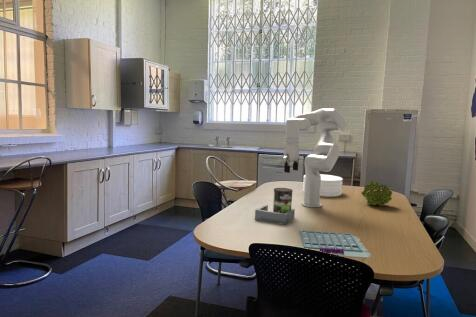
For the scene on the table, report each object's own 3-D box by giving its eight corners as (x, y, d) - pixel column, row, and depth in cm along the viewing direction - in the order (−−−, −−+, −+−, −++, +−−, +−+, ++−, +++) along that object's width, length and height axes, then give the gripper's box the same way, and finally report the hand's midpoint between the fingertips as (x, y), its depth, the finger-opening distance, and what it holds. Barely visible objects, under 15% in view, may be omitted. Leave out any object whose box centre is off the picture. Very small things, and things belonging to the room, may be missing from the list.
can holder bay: (265, 213, 202) (265, 204, 201) (294, 218, 194) (294, 209, 194) (254, 219, 190) (255, 209, 189) (285, 224, 182) (286, 214, 182)
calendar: (357, 237, 169) (358, 232, 169) (375, 260, 141) (375, 254, 141) (299, 233, 171) (299, 228, 171) (305, 255, 143) (305, 249, 143)
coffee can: (294, 216, 198) (295, 191, 196) (276, 217, 195) (277, 191, 194) (286, 211, 208) (288, 187, 206) (269, 212, 205) (271, 187, 204)
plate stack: (295, 189, 274) (296, 174, 273) (325, 187, 286) (325, 173, 285) (318, 197, 249) (319, 181, 248) (349, 195, 261) (350, 179, 260)
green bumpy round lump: (382, 194, 243) (397, 182, 230) (382, 214, 234) (398, 202, 221) (358, 185, 242) (372, 172, 229) (357, 204, 232) (372, 192, 219)
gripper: (293, 139, 211) (292, 168, 213) (278, 141, 197) (277, 172, 200) (305, 140, 207) (304, 170, 209) (290, 142, 193) (289, 174, 195)
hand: (291, 171), depth 204 cm, fingers open, 9 cm apart
